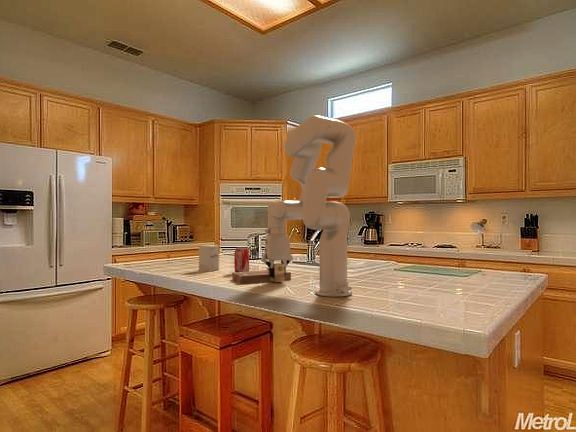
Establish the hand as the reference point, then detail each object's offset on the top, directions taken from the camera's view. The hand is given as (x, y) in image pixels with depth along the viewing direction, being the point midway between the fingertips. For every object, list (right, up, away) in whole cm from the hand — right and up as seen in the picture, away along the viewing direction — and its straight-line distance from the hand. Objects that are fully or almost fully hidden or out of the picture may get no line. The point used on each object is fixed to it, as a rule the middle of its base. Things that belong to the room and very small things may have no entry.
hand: (277, 276), depth 151 cm
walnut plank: (-7, -2, +7) cm, 10 cm away
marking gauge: (-1, -2, +3) cm, 4 cm away
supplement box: (-36, -3, +36) cm, 51 cm away
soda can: (-18, -3, +27) cm, 32 cm away
